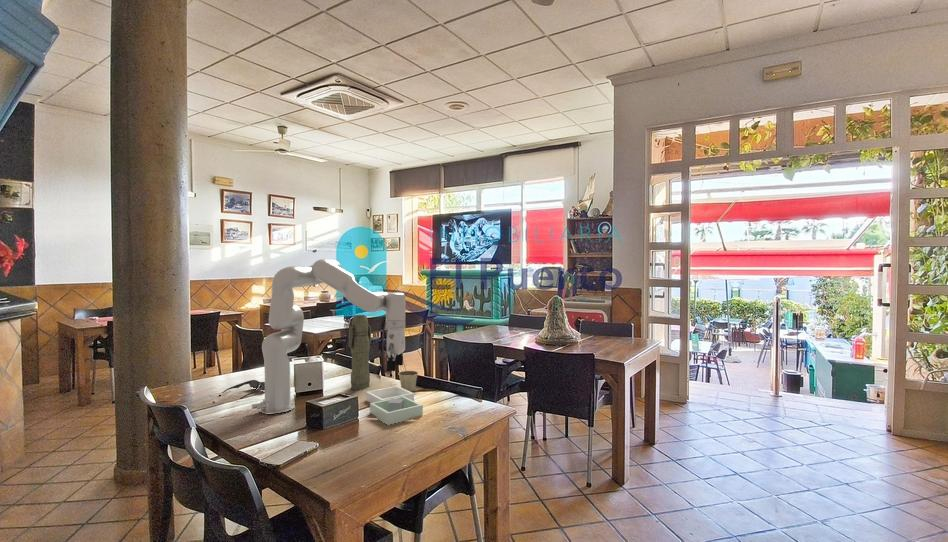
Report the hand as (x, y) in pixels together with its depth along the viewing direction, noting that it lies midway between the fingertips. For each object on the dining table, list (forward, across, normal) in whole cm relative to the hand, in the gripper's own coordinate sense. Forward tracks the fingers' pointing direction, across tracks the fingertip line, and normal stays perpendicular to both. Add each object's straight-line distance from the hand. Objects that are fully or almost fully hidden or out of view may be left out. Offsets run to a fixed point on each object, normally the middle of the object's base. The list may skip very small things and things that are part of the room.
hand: (395, 367), depth 170 cm
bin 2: (+19, 0, 0) cm, 19 cm away
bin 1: (+19, +15, +7) cm, 25 cm away
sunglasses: (+20, +20, +77) cm, 82 cm away
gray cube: (+18, 0, 0) cm, 18 cm away
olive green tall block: (+19, +37, +28) cm, 50 cm away
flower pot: (+19, +33, +4) cm, 38 cm away
